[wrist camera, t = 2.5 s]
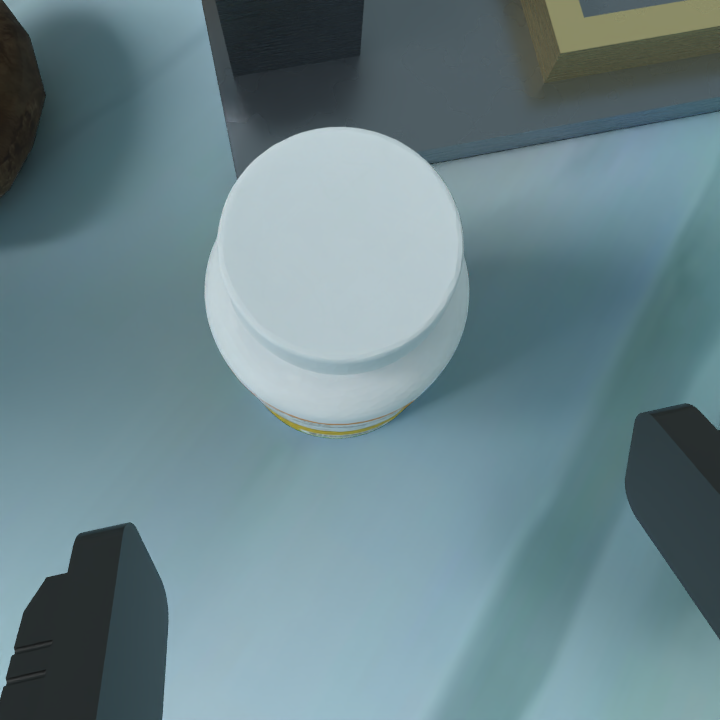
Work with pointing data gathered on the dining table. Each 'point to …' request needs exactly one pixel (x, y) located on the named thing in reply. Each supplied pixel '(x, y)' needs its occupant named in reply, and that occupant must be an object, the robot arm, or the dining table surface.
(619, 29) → the shaft bench
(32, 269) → the dining table surface
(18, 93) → the brown rough round lump
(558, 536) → the dining table surface
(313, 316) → the supplement bottle
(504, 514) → the dining table surface
